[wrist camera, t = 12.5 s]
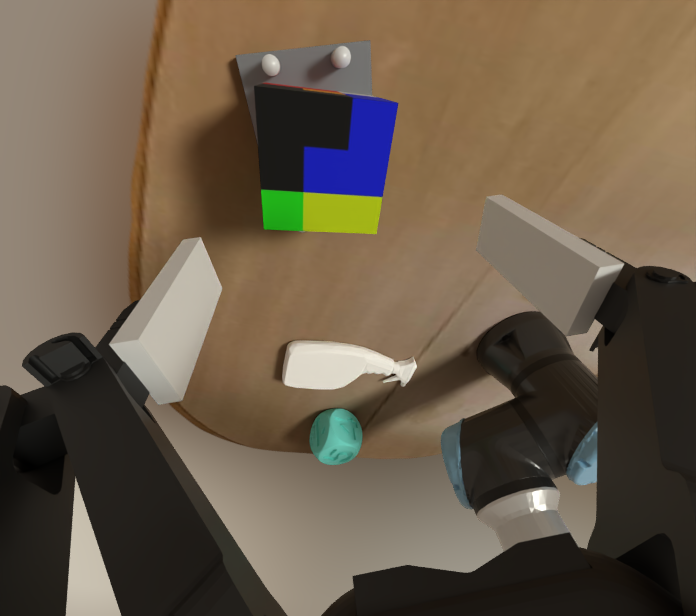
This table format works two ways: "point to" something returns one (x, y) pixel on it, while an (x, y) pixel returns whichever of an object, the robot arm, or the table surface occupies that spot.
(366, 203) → the puzzle toy
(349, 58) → the pin tray
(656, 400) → the robot arm
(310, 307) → the table surface
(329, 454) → the decorative dice
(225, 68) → the table surface
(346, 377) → the spray bottle
